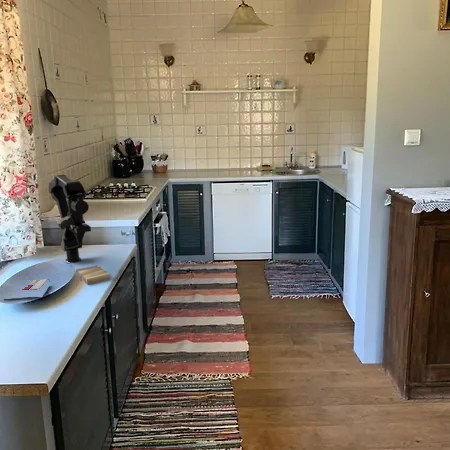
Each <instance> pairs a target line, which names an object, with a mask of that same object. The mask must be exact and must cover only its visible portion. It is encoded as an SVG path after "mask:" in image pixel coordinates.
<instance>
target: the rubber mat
mask: <svg viewBox="0 0 450 450" xmlns="http://www.w3.org/2000/svg"><path fill="white" fill-rule="evenodd" d="M94 267H99V266H98V265H93V266H88V267H82V268H77V269H76V273H75V275H76V277H77V279H78V281H79V282H84V281H83V280H82V279H81V278H80V277H79V275H78V271H81V270H85V269H90V268H94Z"/></svg>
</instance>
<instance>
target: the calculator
mask: <svg viewBox="0 0 450 450" xmlns="http://www.w3.org/2000/svg"><path fill="white" fill-rule="evenodd" d="M32 280H33V281H32V282H31V281H30V280H29V281H30V282H29V283H30V284H34V283H35V282H36V281H38V279H32ZM39 280H40V281H38V282H37V283H36V284H35V286H33V285H28V287H25V288H24V289H22V290H29V289H30V288H31V287H32V286H33V287H32V288H31V289H30V290H37V289H40V288H41V287H42V286H43V285H44V283H45V282H46V281H47V280H49V279H47V278H44V279H39Z"/></svg>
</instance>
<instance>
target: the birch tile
mask: <svg viewBox="0 0 450 450" xmlns="http://www.w3.org/2000/svg"><path fill="white" fill-rule="evenodd" d="M78 275H79V277H80V278H81V279H82V280H83V281H82V282H84V283H85V284H87V286H88V285H91V284H95V283H100V282H104V281H108V280H110V279H111V278H110V273H109V272H108V271H106V269H104V268H102V267H101V266H98V267H94V268H90V269H85V270H81V271H78Z"/></svg>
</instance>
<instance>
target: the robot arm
mask: <svg viewBox="0 0 450 450" xmlns="http://www.w3.org/2000/svg"><path fill="white" fill-rule="evenodd" d="M48 193H49V194H50V195H51V199H53V201H55V202H56V204H57V209H58V213H59V216H60V219H58V220H57V221H56V224H57V226H58V228H59V229H60V230H61V231H62V230H63V233H62V239H61V243H60V247H61V250H62V251H63V252H65V255H66V258H65V261H68V262H70V263H69V264H71V263H78V262H81V261H82V258H81V257H80V252H79V249H82V248H83V239H84V237H85V233H87V232H91V231H92V229H91V228H92V227H91V225H89V224H87V223H86V221H85V220H84V215H85V214H86V213H88V211H89V204H88V202H87V201H85V200H84V198H86V197H87V196H86V191H85V188H84V186H83V184H82V183H81V182H80V181H79V180H72V179H70V178H69V177H68V176H67V175H66V174H59V175H54V177H53V179H52V180H51V181H50V182H49V183H48Z"/></svg>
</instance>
